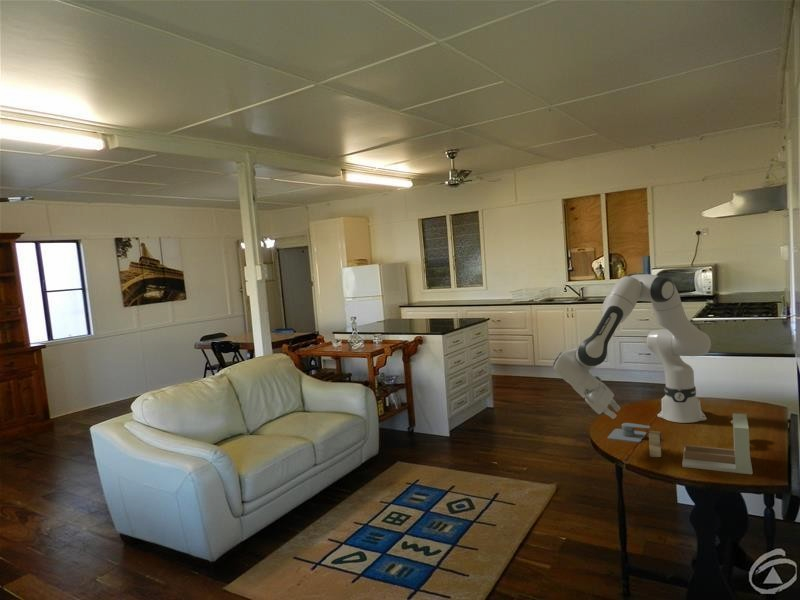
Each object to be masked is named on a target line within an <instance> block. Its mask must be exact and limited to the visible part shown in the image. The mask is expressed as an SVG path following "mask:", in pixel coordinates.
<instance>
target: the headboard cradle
mask: <svg viewBox="0 0 800 600" xmlns="http://www.w3.org/2000/svg"><path fill="white" fill-rule="evenodd" d="M732 420H733V424H732V428H733V430H732V431H733V449H731V448H720V447H710V446H702V445H691V444H690V445H688V444H685V445H684V449H683V455H682V466H681V467H682V468H691V469H700V470H708V471H717V472H727V473H733V474H734V473H735V474H743V475H744V474H745V475H752V474H753V467H752V461H751V452H750V450H751V449H750V447H751V446H750V447H749V445H750V432H749V431H750V430H749V422H748V417H747V413H732Z"/></svg>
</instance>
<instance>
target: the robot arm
mask: <svg viewBox="0 0 800 600" xmlns="http://www.w3.org/2000/svg"><path fill="white" fill-rule="evenodd" d="M638 301H641V302H651V306H652V310H653V313H654V317H655V319H656V322H657V324H658V325H659V326H661V328H662V329H661V328H660V329H653V330H650V332H648V334H647V337H646V346H647V348H648V350H650V351H651V352H652V353H653V354H655V355H656V357H657V359H659V360H660V363H661V365H662V367H663V372H664V379H665V380H664V381H665V385H664V396H663V397H662V398H661V410H660V411H659V413H657V417H658V418H661V419H664V420H666V421H669V422H673V423H683V424H687V423H688V424H689V423H697V422H702V421H707V419H708V418H707V417H706V415H705V413H704V412H703V411H702V407H701V400H700V399H699V398H697V396H696V395H697V389H696V386H695V374H694V369H693V368H692V366H691V365H689V364H688V363H686V362H685V361H684V360H683V359H682V358H681V356H683V357H699V356H700V357H701V356H705V355H707V354H708V353H709V351H710V349H711V347H712V342H711V338H710V337H709V335H708V334H707V333H706V332H704V331H702V330H700V329H698V327H696V326H695V325H693V323H692V322H691V321H690V320H689V318H688V317H687V314H686V312H685V309H684V307H683V304H682V300H681V296H680V294H679V291H678V290H677V287H676V285H675V284H674V282H673V281H672V279H671V278H669V277H667V276H664V275H656V274H650V273H646V274H645V273H641V274H640V273H639V274H637V273H629V274H626V275H624V276H622V277H621V278H619V279H618V280H617V281H616V282H615V284H613V286H612V288H611V289H610V290H609V291H608V293H607V295H606V296H605V299H604V300H603V302H602V304H601V305H602V306H601V308H600V313H601V319H600V321H599V323H598V325H597V326H596V328H595V329H594V331H593V333H592V334H591V336H589V337H588V338H586V339H584V340H583V341H582V342H581V343H580V344H579V346H578V347H575V348H573V349H568V350H563V351H561V352H560V353H559V354H558V355H557V356H556V359H555V360H554V361H553V369H554V371H555V372H556V373H557V374H558V375H559V377H560V378H561V379H562V380H564V382H566V383H568V384H569V385H570V386H571V387H572V389H573V390H574V391H575V392H576V393H578V395H579V396H581V397H582V398H583V399H584V401H585V402H586V404H588V405H589V406H590V407H591V408H590V409H592V410H594V412H595V413H597V414H598V415H601V414H602V413H604V415H606V416H608V417H609V418H611V419H612V420H614V419H615V418H616V417H617V414H616V413H615V412H614V411H616V412H617V413H618V412H619V411H620V410H621V406H619V404H617V402H616V400H615V399H614V397H615V394H614V393H613V391H612V390H611V389H610V388H609V387H608V386H607V385H606V384H605V382H602V379H601V378H600V377H599V376H596V375H593V374H592V373H591V372H590V370H592V369H594V368H596V367H598V365H601V364H602V363H603V362H605V360H606V358H607V355H608V345H609V342H610V340H611V338H612V336H614V335H613V334H614V333H615V331H616V330H617V328H618V326H619V325H620V324H622V323H623V322H625V320H627V319H628V317H629V316H630V314H631V313H632V312H633V310H634V308H635V306H636V305H637V302H638ZM609 405H610V406H611V407H612V408H613V410H614V411H612V410H610V408H609V407H608V406H609Z"/></svg>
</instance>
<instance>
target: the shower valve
mask: <svg viewBox="0 0 800 600" xmlns="http://www.w3.org/2000/svg"><path fill="white" fill-rule="evenodd" d="M634 429H644V430H650V429H651V426H650V425H646V424H645V425H644V424H640V423H639V424H638V423H633V422H632V423H631V422H624V423H623V422H622V424H621V428H615V429H613V430H612V431H611V433H610V434H609V435H608V436H607V439H608V440H613V441H619V440H620V441H621V442H626V443H627V442H629V443H635V444H638V443H641V442H642V441H643V440H644V438H645V437H646V435H647V432H646V431H642V430H641V431H640V430H634ZM642 439H643V440H642Z"/></svg>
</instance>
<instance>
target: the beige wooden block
mask: <svg viewBox="0 0 800 600" xmlns="http://www.w3.org/2000/svg"><path fill="white" fill-rule="evenodd" d="M662 438H663V437H662V433H661V431H657V430H656V431H655V430H649V433H648V444H649V445H648V447H649V448H648V449H649V457H651V458H658V457H662V444H663V441H662Z"/></svg>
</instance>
